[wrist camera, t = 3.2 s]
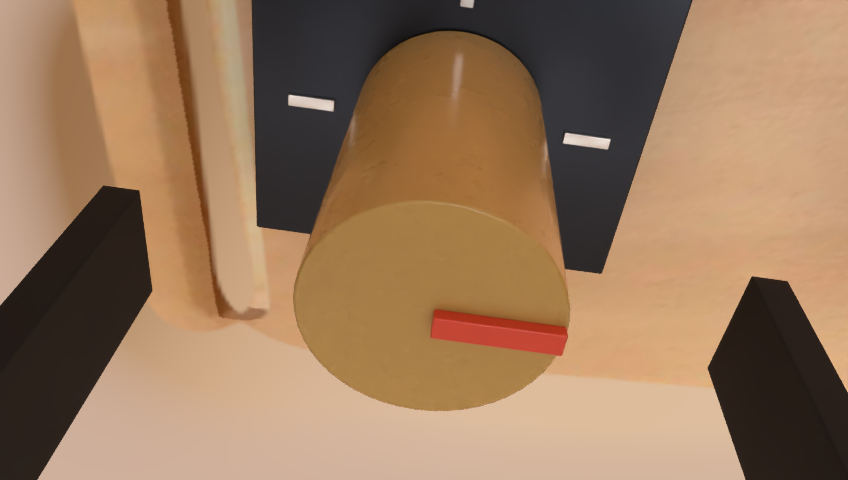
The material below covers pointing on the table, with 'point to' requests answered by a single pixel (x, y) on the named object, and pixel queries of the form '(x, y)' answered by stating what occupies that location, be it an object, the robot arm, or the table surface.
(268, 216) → the panel
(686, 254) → the table surface
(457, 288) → the tan pointer knob
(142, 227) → the robot arm
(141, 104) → the table surface
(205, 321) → the table surface
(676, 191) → the table surface
